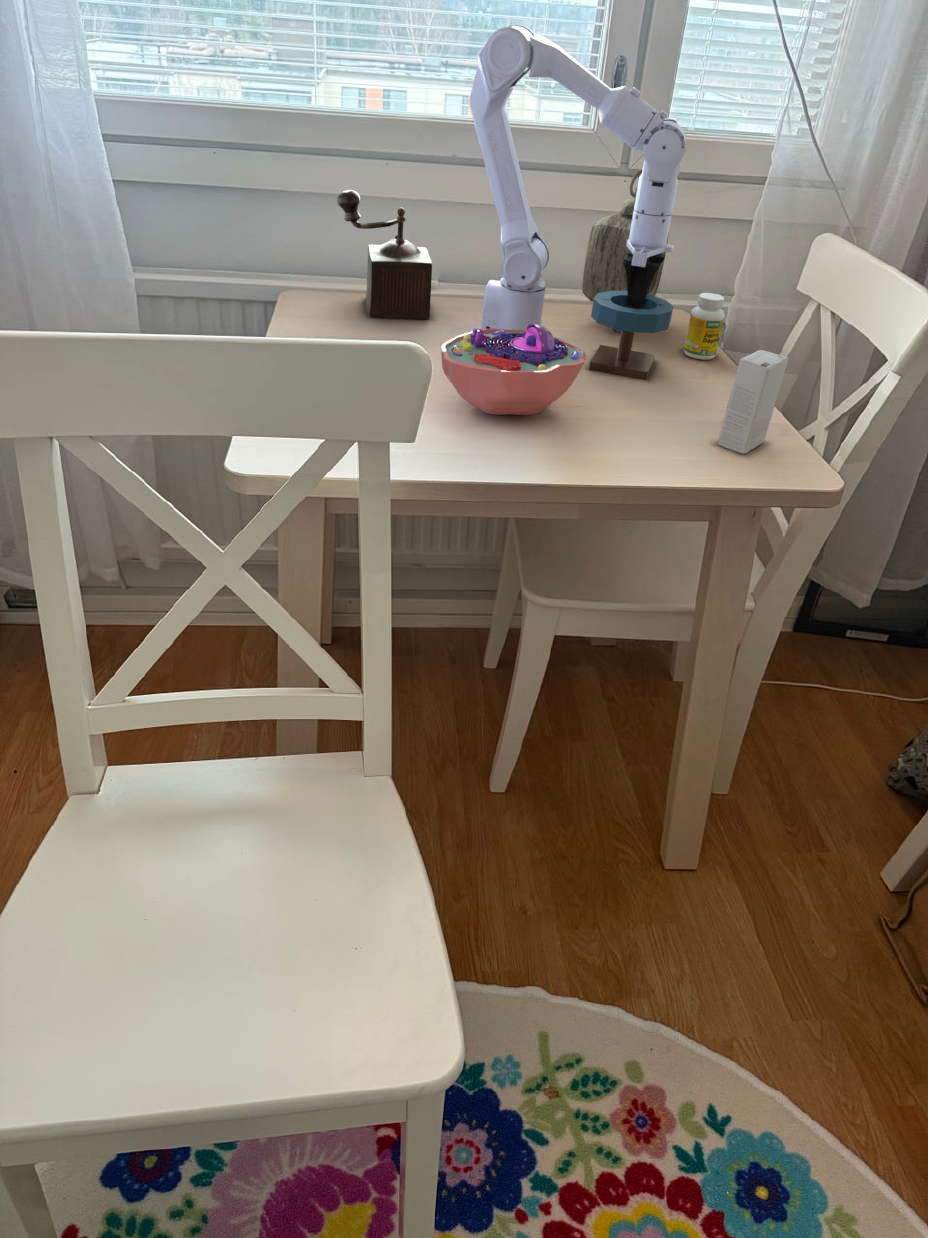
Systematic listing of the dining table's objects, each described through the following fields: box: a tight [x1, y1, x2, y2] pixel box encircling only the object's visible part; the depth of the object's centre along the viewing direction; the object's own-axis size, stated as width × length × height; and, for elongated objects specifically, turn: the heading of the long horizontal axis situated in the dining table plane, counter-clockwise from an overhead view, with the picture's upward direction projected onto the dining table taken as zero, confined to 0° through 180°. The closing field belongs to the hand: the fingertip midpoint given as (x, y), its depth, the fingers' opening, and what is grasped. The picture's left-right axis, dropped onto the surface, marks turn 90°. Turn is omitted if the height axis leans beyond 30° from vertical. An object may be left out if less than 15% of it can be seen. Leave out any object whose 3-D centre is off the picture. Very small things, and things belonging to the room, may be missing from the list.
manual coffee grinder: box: [336, 189, 433, 320], centre depth 162 cm, size 16×11×18 cm
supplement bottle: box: [683, 292, 726, 361], centre depth 158 cm, size 5×5×10 cm
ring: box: [590, 291, 674, 334], centre depth 148 cm, size 12×12×3 cm
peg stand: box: [588, 330, 656, 380], centre depth 151 cm, size 9×9×6 cm
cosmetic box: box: [717, 349, 789, 455], centre depth 127 cm, size 6×4×12 cm
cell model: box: [440, 324, 588, 416], centre depth 131 cm, size 17×20×11 cm
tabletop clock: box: [581, 168, 670, 333], centre depth 165 cm, size 14×9×25 cm, turn 148°
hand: (636, 303), depth 152 cm, fingers closed on ring, 2 cm apart
